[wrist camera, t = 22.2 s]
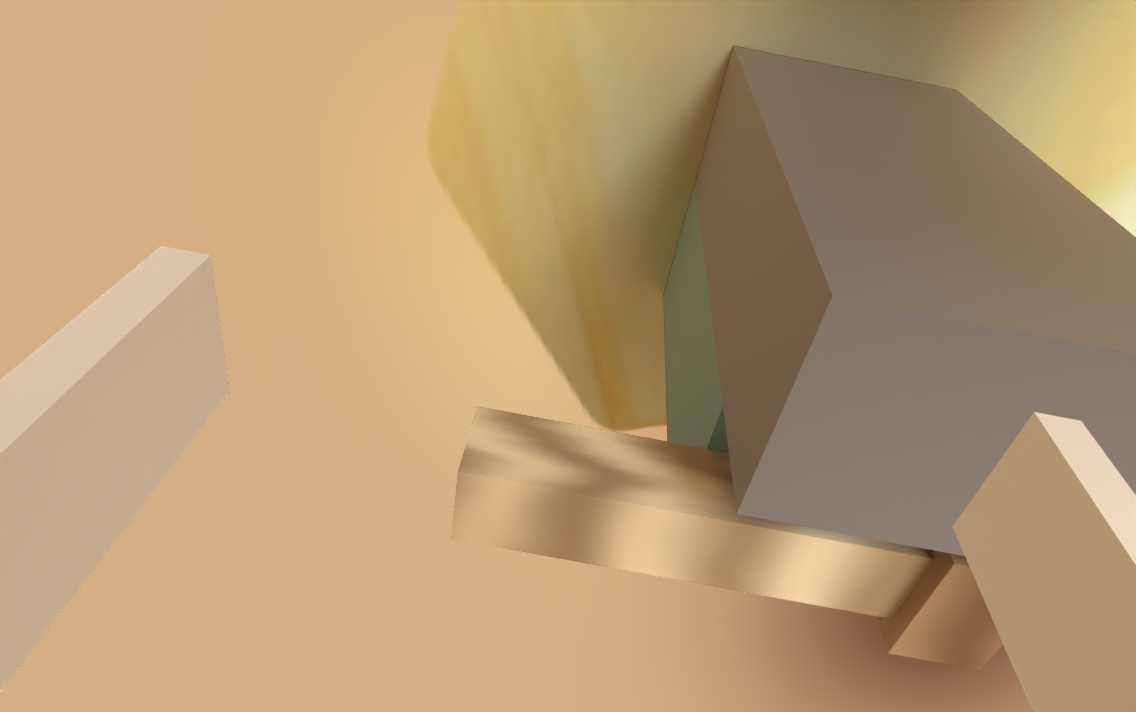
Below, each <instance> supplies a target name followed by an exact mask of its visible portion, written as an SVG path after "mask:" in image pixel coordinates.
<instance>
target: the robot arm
mask: <svg viewBox="0 0 1136 712" xmlns="http://www.w3.org/2000/svg"><path fill="white" fill-rule="evenodd" d="M229 393H230V389H229V382H228V375H227V368H226V361H225V354H224V347H223V340H222V333H221V326H220V320H219V312H218V305H217V298H216V290H215V283H214V277H213V269H212V263H211V256H210V255H206V254H201V253H196V252H190V251H185V250H179V249H174V248H170V247H164V246H161V247H160V248H158V249H157V250H156V251H155V252H153V254H151V255H150V256H149V257H148V258H146V259H145V260H144V261H143V262H141V263H140V264H139V265H138V266H137V267H135V268H134V269H133V270H132V271H131V272H129V273H128V274H127V275H126V276H125V277H123V278H122V279H121V280H120V281H119V282H118V283H116V284H115V285H114V286H113V287H111V288H110V289H109V290H108V291H107V292H105V293H104V294H103V295H102V296H101V297H99V298H98V299H97V300H96V301H95V302H94V303H92V304H91V305H90V306H89V307H87V308H86V309H85V310H84V311H83V312H81V313H80V314H79V315H78V316H77V317H75V318H74V319H73V320H72V321H71V322H69V323H68V324H67V325H66V326H64V327H63V328H62V329H61V330H60V331H59V332H57V333H56V334H55V335H54V336H52V337H51V338H50V339H49V340H48V341H47V342H45V343H44V344H43V345H42V346H41V347H39V348H38V349H37V350H36V351H34V352H33V353H32V354H31V355H30V356H28V357H27V358H26V359H25V360H24V361H23V362H21V363H20V364H19V365H18V366H16V367H15V368H14V369H13V370H12V371H11V372H9V373H8V374H7V375H6V376H4V377H3V378H2V379H1V380H0V693H1V692H2V690H3V689H4V688H5V686H6V685H7V684H8V682H9V681H10V680H11V678H12V677H13V676H14V674H15V673H16V671H18V669H19V668H20V667H21V665H22V664H23V663H24V661H25V660H26V659H27V657H28V656H29V655H30V653H31V652H32V651H33V650H34V648H35V647H36V646H37V644H38V643H39V642H40V640H41V639H42V638H43V636H44V635H45V634H46V632H47V631H48V630H49V629H50V627H51V626H52V624H53V623H54V622H55V621H56V619H57V618H58V617H59V615H60V614H61V613H62V611H63V610H64V609H65V608H66V606H67V605H68V604H69V602H70V601H71V600H72V598H73V597H74V596H75V594H76V593H77V592H78V590H79V589H80V588H81V586H82V585H83V584H84V583H85V581H86V580H87V579H88V577H89V576H90V575H91V573H92V572H93V571H94V570H95V568H96V567H97V566H98V564H99V563H100V562H101V560H102V559H103V558H104V556H105V555H106V554H107V552H108V551H109V550H110V549H111V547H112V546H113V545H114V543H115V542H116V541H117V539H118V538H119V537H120V535H121V534H122V533H123V532H124V530H125V529H126V528H127V526H128V525H129V524H130V522H131V521H132V520H133V518H134V517H135V516H136V514H137V513H138V512H139V510H140V509H141V508H142V507H143V505H144V504H145V503H146V501H147V500H148V499H149V497H150V496H151V495H152V493H153V492H154V491H155V490H156V488H157V487H158V485H159V484H160V483H161V482H162V480H163V479H164V478H165V476H166V475H167V474H168V472H169V471H170V470H171V469H172V467H173V466H174V465H175V463H176V462H177V461H178V459H179V458H180V457H181V455H182V454H183V453H184V452H185V450H186V449H187V448H188V446H189V445H190V443H191V442H192V441H193V440H194V438H195V437H196V436H197V434H198V433H199V432H200V430H201V429H202V428H203V427H204V425H205V424H206V422H207V421H208V420H209V419H210V417H211V416H212V415H213V413H214V412H215V411H216V410H217V408H218V407H219V406H220V404H221V403H222V402H223V400H224V399H225V398H226V396H227V395H228V394H229ZM953 530H954V532H955V534H956V537H957V539H958V541H959V543H960V546H961V548H962V550H963V553H964V555H965V557H966V560H967V562H968V564H969V567H970V569H971V571H972V573H973V576H974V578H975V580H976V583H977V585H978V587H979V590H980V592H981V594H982V596H983V599H984V601H985V603H986V606H987V608H988V610H989V613H990V615H991V617H992V619H993V622H994V624H995V626H996V629H997V631H998V633H999V636H1000V638H1001V640H1002V643H1003V645H1004V647H1005V649H1006V652H1007V654H1008V656H1009V659H1010V661H1011V663H1012V666H1013V668H1014V670H1015V672H1016V675H1017V677H1018V679H1019V682H1020V684H1021V686H1022V689H1023V691H1024V693H1025V695H1026V698H1027V700H1028V702H1029V705H1030V707H1031V709H1032V711H1033V712H1136V495H1135V494H1134V492H1133V491H1132V489H1131V488H1130V487H1129V485H1128V484H1127V483H1126V481H1125V480H1124V479H1123V477H1122V476H1121V474H1120V473H1119V472H1118V470H1117V469H1116V468H1115V466H1114V465H1113V464H1112V462H1111V461H1110V459H1109V458H1108V457H1107V455H1106V454H1105V453H1104V451H1103V450H1102V449H1101V447H1100V446H1099V445H1098V443H1097V442H1096V440H1095V439H1094V438H1093V436H1092V435H1091V434H1090V432H1089V431H1088V430H1087V428H1086V427H1085V425H1084V424H1083V423H1082V421H1080V420H1074V419H1069V418H1064V417H1058V416H1053V415H1048V414H1043V413H1037V412H1034V413H1033V414H1032V415H1031V417H1030V418H1029V420H1028V421H1027V423H1026V424H1025V425H1024V427H1023V428H1022V430H1021V431H1020V432H1019V434H1018V435H1017V437H1016V438H1015V439H1014V441H1013V442H1012V444H1011V445H1010V446H1009V448H1008V449H1007V451H1006V452H1005V453H1004V455H1003V456H1002V458H1001V459H1000V460H999V462H998V463H997V465H996V466H995V467H994V469H993V470H992V472H991V473H990V475H989V476H988V477H987V479H986V480H985V482H984V483H983V484H982V486H981V487H980V489H979V490H978V491H977V493H976V494H975V496H974V497H973V498H972V500H971V501H970V503H969V504H968V505H967V507H966V508H965V510H964V511H963V512H962V514H961V515H960V517H959V518H958V520H957V521H956V522H955V524H954V525H953Z"/></svg>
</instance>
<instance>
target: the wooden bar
mask: <svg viewBox="0 0 1136 712" xmlns="http://www.w3.org/2000/svg"><path fill="white" fill-rule="evenodd" d="M451 538H452V539H456V540H461V541H467V542H473V543H478V544H484V545H489V546H495V547H500V548H506V549H511V550H516V551H522V552H527V553H533V554H539V555H545V556H549V557H555V558H561V559H566V560H571V561H577V562H582V563H588V564H593V565H599V566H604V567H610V568H615V569H621V570H626V571H632V572H638V573H643V574H648V575H654V576H659V577H665V578H670V579H676V580H682V581H687V582H692V583H698V584H703V585H708V586H714V587H720V588H725V589H730V590H736V591H742V592H747V593H752V594H758V595H764V596H769V597H774V598H780V599H786V600H791V601H797V602H802V603H808V604H813V605H818V606H824V607H829V608H835V609H840V610H846V611H851V612H857V613H862V614H869V615H873V616H877V617H878V620H879V624H880V628H881V631H882V634H883V638H884V641H885V645H886V648H887V652H888V653H889V654H895V655H900V656H906V657H911V658H917V659H923V660H928V661H933V662H939V663H945V664H950V665H955V666H961V667H966V668H972V669H977V670H981V668H982V667H983V666H984V665H985V664H986V663H987V662H988V661H989V659H990V658H991V657H992V656H993V655H994V654H995V653H996V652H997V650H999V648H1000V647H1001V646H1002V645H1003V643H1002V640H1001V638H1000V636H999V633H998V631H997V629H996V626H995V624H994V622H993V619H992V617H991V615H990V613H989V610H988V608H987V606H986V603H985V601H984V599H983V596H982V594H981V592H980V590H979V587H978V585H977V583H976V580H975V578H974V576H973V573H972V571H971V569H970V567H969V564H968V562H967V560H966V557H965V556H961V555H956V554H951V553H945V552H940V551H934V550H929V549H924V548H918V547H913V546H907V545H902V544H897V543H891V542H886V541H880V540H875V539H869V538H864V537H859V536H853V535H848V534H842V533H837V532H832V531H826V530H821V529H815V528H810V527H805V526H799V525H794V524H788V523H783V522H777V521H772V520H767V519H761V518H756V517H750V516H745V515H740V514H737V513H736V505H735V497H734V489H733V482H732V474H731V466H730V458H729V453H726V452H720V451H715V450H709V449H704V448H699V447H693V446H688V445H682V444H677V443H672V442H666V441H661V440H655V439H650V438H644V437H639V436H634V435H629V434H623V433H618V432H612V431H607V430H602V429H596V428H591V427H585V426H580V425H575V424H569V423H564V422H559V421H553V420H548V419H542V418H537V417H532V416H526V415H520V414H515V413H510V412H504V411H499V410H494V409H489V408H483V407H477V411H476V414H475V418H474V421H473V424H472V427H471V430H470V434H469V437H468V440H467V443H466V447H465V450H464V453H463V457H462V460H461V463H460V466H459V470H458V476H457V485H456V495H455V505H454V515H453V524H452V534H451Z"/></svg>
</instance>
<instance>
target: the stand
mask: <svg viewBox="0 0 1136 712" xmlns="http://www.w3.org/2000/svg"><path fill="white" fill-rule="evenodd" d="M664 331H665V368H666V405H667V439H668V440H667V442H672V443H677V444H682V445H688V446H693V447H699V448H704V449H709V450H715V451H720V452H726V453H729V458H730V466H731V474H732V482H733V489H734V497H735V505H736V513H737V514H740V515H745V516H750V517H756V518H761V519H767V520H772V521H777V522H783V523H788V524H794V525H799V526H805V527H810V528H815V529H821V530H826V531H832V532H837V533H842V534H848V535H853V536H859V537H864V538H869V539H875V540H880V541H886V542H891V543H897V544H902V545H907V546H913V547H918V548H924V549H929V550H934V551H940V552H945V553H951V554H956V555H961V556H965V555H964V553H963V550H962V548H961V546H960V543H959V541H958V539H957V537H956V534H955V532H954V530H953V525H954V524H955V522H956V521H957V520H958V518H959V517H960V515H961V514H962V512H963V511H964V510H965V508H966V507H967V505H968V504H969V503H970V501H971V500H972V498H973V497H974V496H975V494H976V493H977V491H978V490H979V489H980V487H981V486H982V484H983V483H984V482H985V480H986V479H987V477H988V476H989V475H990V473H991V472H992V470H993V469H994V467H995V466H996V465H997V463H998V462H999V460H1000V459H1001V458H1002V456H1003V455H1004V453H1005V452H1006V451H1007V449H1008V448H1009V446H1010V445H1011V444H1012V442H1013V441H1014V439H1015V438H1016V437H1017V435H1018V434H1019V432H1020V431H1021V430H1022V428H1023V427H1024V425H1025V424H1026V423H1027V421H1028V420H1029V418H1030V417H1031V415H1032V414H1033V413H1034V412H1037V413H1043V414H1048V415H1053V416H1058V417H1064V418H1069V419H1074V420H1080V421H1082V423H1083V424H1084V425H1085V427H1086V428H1087V430H1088V431H1089V432H1090V434H1091V435H1092V436H1093V438H1094V439H1095V440H1096V442H1097V443H1098V445H1099V446H1100V447H1101V449H1102V450H1103V451H1104V453H1105V454H1106V455H1107V457H1108V458H1109V459H1110V461H1111V462H1112V464H1113V465H1114V466H1115V468H1116V469H1117V470H1118V472H1119V473H1120V474H1121V476H1122V477H1123V479H1124V480H1125V481H1126V483H1127V484H1128V485H1129V487H1130V488H1131V489H1132V491H1133V492H1134V494H1135V495H1136V237H1134V236H1133V235H1132V234H1131V233H1130V232H1128V231H1127V230H1126V229H1125V228H1124V227H1122V226H1121V225H1120V224H1119V223H1117V222H1116V221H1115V220H1114V219H1113V218H1111V217H1110V216H1109V215H1108V214H1107V213H1105V212H1104V211H1103V210H1102V209H1100V208H1099V207H1098V206H1097V205H1096V204H1094V203H1093V202H1092V201H1091V200H1090V199H1088V198H1087V197H1086V196H1085V195H1083V194H1082V193H1081V192H1080V191H1079V190H1077V189H1076V188H1075V187H1074V186H1073V185H1071V184H1070V183H1069V182H1068V181H1066V180H1065V179H1064V178H1063V177H1062V176H1060V175H1059V174H1058V173H1057V172H1056V171H1054V170H1053V169H1052V168H1051V167H1049V166H1048V165H1047V164H1046V163H1045V162H1043V161H1042V160H1041V159H1040V158H1039V157H1037V156H1036V155H1035V154H1034V153H1032V152H1031V151H1030V150H1029V149H1028V148H1026V147H1025V146H1024V145H1023V144H1022V143H1020V142H1019V141H1018V140H1017V139H1015V138H1014V137H1013V136H1012V135H1011V134H1009V133H1008V132H1007V131H1006V130H1005V129H1003V128H1002V127H1001V126H1000V125H998V124H997V123H996V122H995V121H994V120H992V119H991V118H990V117H989V116H988V115H986V114H985V113H984V112H983V111H981V110H980V109H979V108H978V107H977V106H975V105H974V104H973V103H972V102H971V101H969V100H968V99H967V98H966V97H964V96H963V95H962V94H961V93H960V92H958V91H957V90H954V89H949V88H944V87H939V86H934V85H929V84H924V83H919V82H914V81H909V80H904V79H899V78H894V77H889V76H883V75H878V74H873V73H868V72H863V71H858V70H853V69H848V68H843V67H838V66H833V65H828V64H823V63H818V62H812V61H807V60H802V59H797V58H792V57H787V56H782V55H777V54H772V53H767V52H762V51H757V50H752V49H747V48H741V47H736V46H733V50H732V53H731V57H730V60H729V64H728V67H727V71H726V74H725V78H724V82H723V85H722V89H721V92H720V96H719V99H718V103H717V106H716V110H715V114H714V117H713V121H712V124H711V128H710V131H709V135H708V139H707V142H706V146H705V149H704V153H703V156H702V160H701V163H700V167H699V171H698V174H697V178H696V181H695V185H694V188H693V192H692V195H691V199H690V203H689V206H688V210H687V213H686V217H685V220H684V224H683V228H682V231H681V235H680V238H679V242H678V245H677V249H676V252H675V256H674V260H673V263H672V267H671V270H670V274H669V277H668V281H667V284H666V288H665V292H664Z"/></svg>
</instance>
